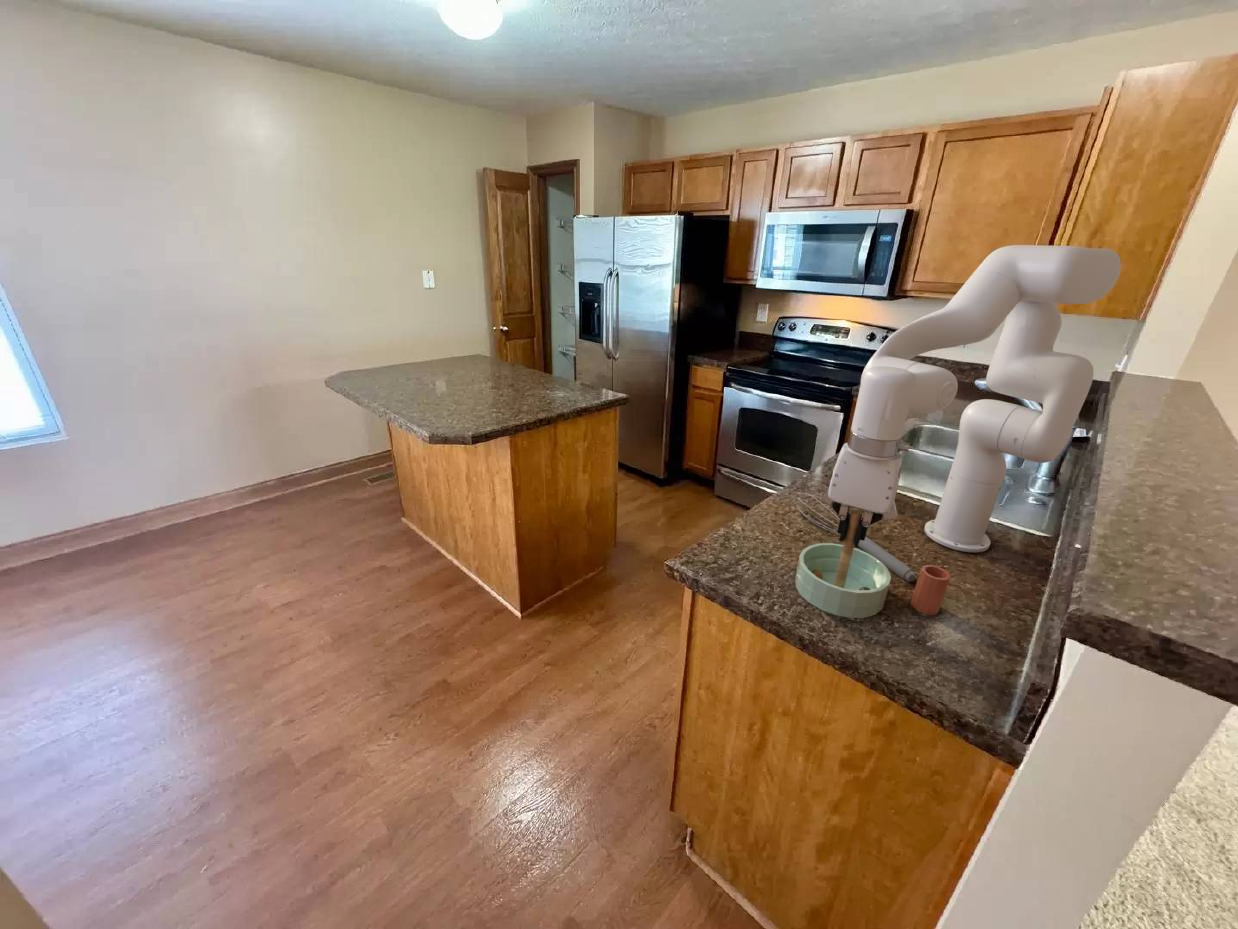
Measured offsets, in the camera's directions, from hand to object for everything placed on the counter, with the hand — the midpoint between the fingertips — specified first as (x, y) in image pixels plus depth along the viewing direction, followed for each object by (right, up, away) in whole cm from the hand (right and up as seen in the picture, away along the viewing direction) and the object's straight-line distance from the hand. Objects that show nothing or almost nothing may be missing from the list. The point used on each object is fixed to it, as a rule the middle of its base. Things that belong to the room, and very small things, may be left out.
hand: (850, 539), depth 91 cm
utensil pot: (+14, -13, +1) cm, 19 cm away
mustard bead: (-4, -8, +7) cm, 11 cm away
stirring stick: (0, -10, +4) cm, 11 cm away
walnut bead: (+4, -10, +2) cm, 11 cm away
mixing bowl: (0, -11, +5) cm, 12 cm away
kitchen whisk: (+10, -4, +21) cm, 23 cm away
